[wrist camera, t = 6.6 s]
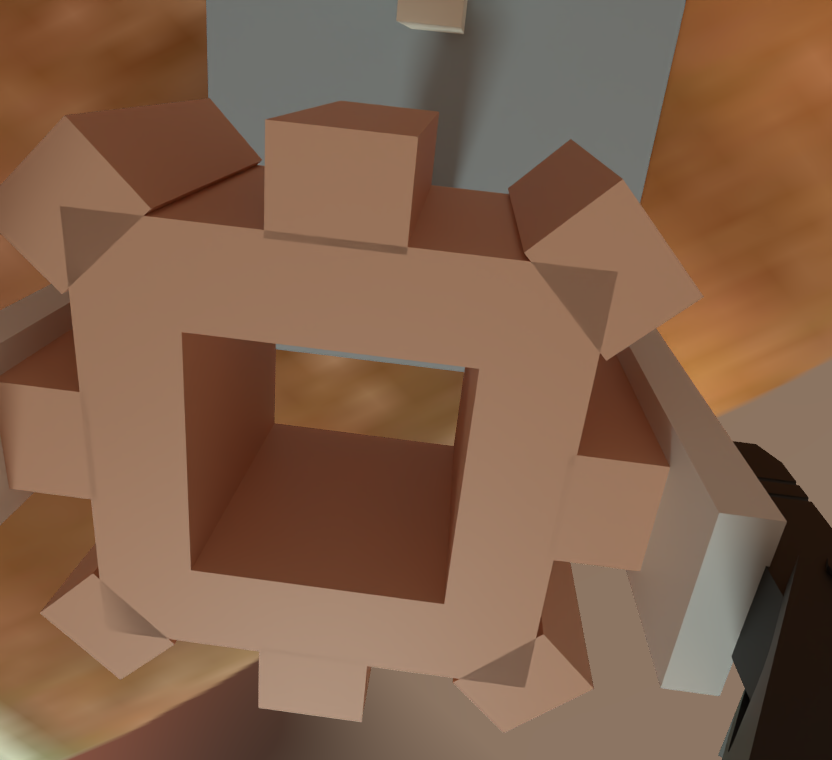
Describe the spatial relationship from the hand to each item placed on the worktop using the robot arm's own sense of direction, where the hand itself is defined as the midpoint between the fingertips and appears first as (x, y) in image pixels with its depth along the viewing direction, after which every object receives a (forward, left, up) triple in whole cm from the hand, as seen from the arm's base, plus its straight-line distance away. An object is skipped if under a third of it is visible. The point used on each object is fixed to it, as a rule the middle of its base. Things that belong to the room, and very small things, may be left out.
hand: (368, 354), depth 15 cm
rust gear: (0, 0, 0) cm, 0 cm away
